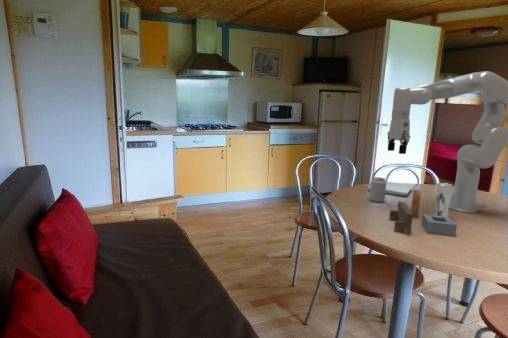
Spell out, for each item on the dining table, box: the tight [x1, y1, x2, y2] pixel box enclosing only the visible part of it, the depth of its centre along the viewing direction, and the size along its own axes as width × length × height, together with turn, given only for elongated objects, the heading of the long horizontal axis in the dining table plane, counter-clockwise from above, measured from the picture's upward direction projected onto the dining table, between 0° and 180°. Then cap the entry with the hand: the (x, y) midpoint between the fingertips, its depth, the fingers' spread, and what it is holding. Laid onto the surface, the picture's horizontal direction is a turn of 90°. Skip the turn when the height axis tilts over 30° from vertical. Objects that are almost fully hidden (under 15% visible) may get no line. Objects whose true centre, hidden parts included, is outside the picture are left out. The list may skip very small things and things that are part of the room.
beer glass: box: [432, 182, 455, 217], centre depth 154 cm, size 7×7×15 cm
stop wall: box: [388, 200, 414, 235], centre depth 142 cm, size 6×18×8 cm, turn 166°
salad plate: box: [367, 181, 414, 197], centre depth 199 cm, size 21×21×3 cm
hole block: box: [420, 213, 458, 237], centre depth 139 cm, size 10×10×4 cm
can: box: [368, 176, 387, 203], centre depth 177 cm, size 8×8×12 cm
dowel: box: [410, 189, 422, 219], centre depth 153 cm, size 3×3×12 cm
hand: (396, 152), depth 162 cm, fingers open, 9 cm apart
